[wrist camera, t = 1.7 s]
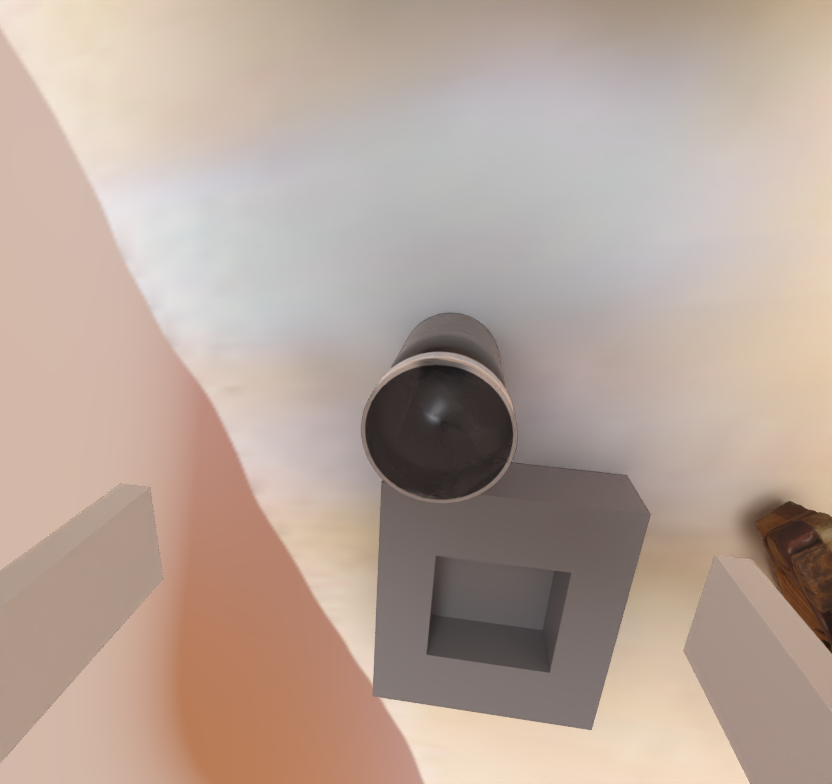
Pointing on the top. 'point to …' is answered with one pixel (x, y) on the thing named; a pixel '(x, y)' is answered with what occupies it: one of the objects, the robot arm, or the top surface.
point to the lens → (442, 413)
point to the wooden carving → (803, 563)
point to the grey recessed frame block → (507, 594)
